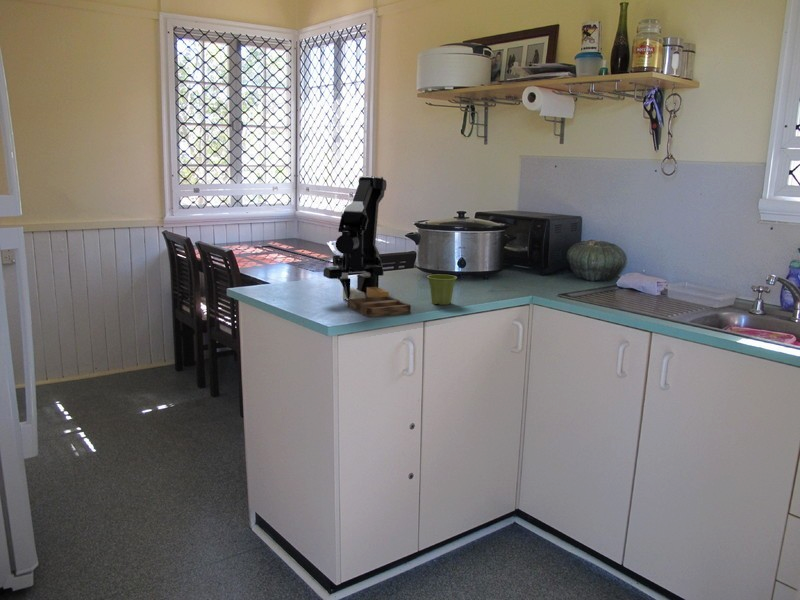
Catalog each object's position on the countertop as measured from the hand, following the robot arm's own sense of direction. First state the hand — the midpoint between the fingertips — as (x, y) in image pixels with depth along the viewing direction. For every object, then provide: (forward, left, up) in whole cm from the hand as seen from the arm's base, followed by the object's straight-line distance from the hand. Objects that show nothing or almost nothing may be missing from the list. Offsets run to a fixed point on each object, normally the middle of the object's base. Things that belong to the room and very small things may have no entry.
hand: (353, 298), depth 214 cm
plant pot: (-25, +13, -1) cm, 28 cm away
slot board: (-2, +14, -1) cm, 14 cm away
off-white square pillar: (0, 0, -1) cm, 1 cm away
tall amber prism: (-9, 0, -1) cm, 9 cm away
